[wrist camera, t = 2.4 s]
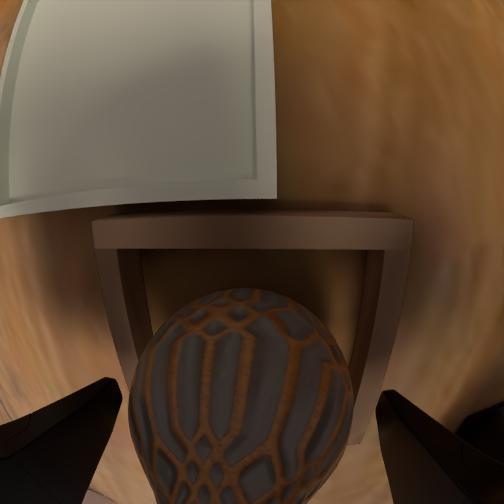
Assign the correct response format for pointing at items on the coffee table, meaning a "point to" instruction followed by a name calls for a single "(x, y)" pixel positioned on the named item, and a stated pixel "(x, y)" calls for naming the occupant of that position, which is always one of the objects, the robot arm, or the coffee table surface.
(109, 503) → the foam cup
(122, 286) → the holder
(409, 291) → the coffee table surface
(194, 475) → the vase
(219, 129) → the tray
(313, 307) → the coffee table surface
